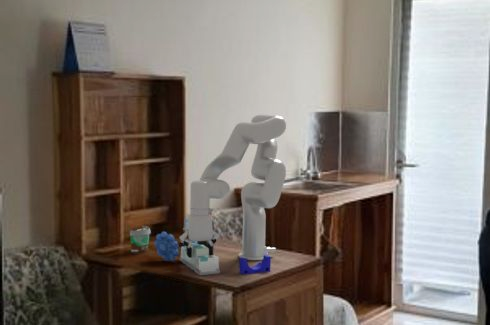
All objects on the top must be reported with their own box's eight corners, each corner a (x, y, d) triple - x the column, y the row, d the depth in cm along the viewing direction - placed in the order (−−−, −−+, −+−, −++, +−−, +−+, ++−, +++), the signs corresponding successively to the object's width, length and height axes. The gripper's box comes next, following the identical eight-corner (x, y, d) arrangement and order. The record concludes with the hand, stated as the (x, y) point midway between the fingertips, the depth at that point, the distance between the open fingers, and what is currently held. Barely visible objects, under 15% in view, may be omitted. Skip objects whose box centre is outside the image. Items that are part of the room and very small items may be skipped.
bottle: (216, 258, 299) (216, 210, 297) (201, 259, 296) (201, 211, 294) (209, 254, 305) (210, 208, 303) (194, 256, 302) (195, 209, 300)
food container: (142, 255, 301) (142, 231, 300) (129, 254, 303) (129, 230, 302) (155, 249, 313) (155, 226, 312) (142, 248, 315) (143, 225, 314)
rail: (198, 259, 296) (198, 244, 295) (219, 273, 274) (219, 257, 273) (180, 260, 293) (180, 246, 292) (199, 275, 271) (199, 259, 270)
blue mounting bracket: (264, 268, 283) (265, 254, 282) (270, 271, 279) (270, 256, 278) (237, 272, 277) (237, 256, 277) (242, 274, 273) (243, 259, 273)
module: (202, 261, 287) (202, 243, 287) (208, 265, 281) (208, 246, 280) (190, 262, 285) (190, 244, 285) (196, 267, 279) (196, 247, 278)
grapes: (148, 261, 291) (148, 232, 290) (157, 258, 297) (157, 229, 296) (173, 264, 286) (173, 235, 284) (181, 261, 292) (182, 232, 290)
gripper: (217, 209, 288) (216, 252, 290) (175, 211, 281) (175, 255, 283) (224, 212, 281) (223, 256, 283) (181, 214, 274) (181, 260, 276)
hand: (199, 256), depth 283 cm, fingers open, 7 cm apart
